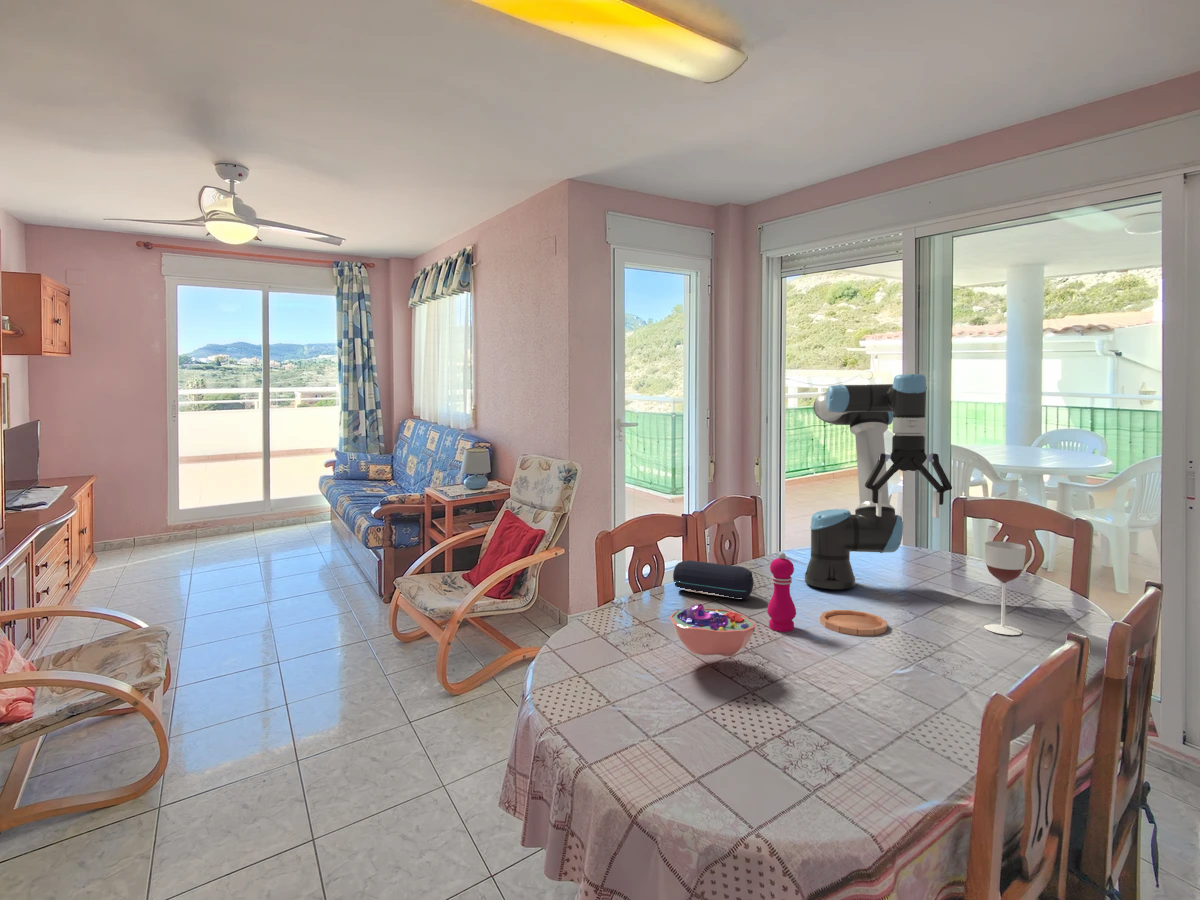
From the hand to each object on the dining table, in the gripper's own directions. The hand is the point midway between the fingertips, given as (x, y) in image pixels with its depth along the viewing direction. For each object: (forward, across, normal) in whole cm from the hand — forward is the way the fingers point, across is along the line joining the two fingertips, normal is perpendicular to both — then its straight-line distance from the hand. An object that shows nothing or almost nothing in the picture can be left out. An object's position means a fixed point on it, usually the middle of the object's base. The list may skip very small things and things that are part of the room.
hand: (906, 516), depth 160 cm
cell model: (+29, -48, -29) cm, 64 cm away
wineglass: (+29, +24, +3) cm, 38 cm away
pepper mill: (+29, -31, -7) cm, 44 cm away
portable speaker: (+30, -50, +20) cm, 62 cm away
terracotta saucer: (+29, -13, -1) cm, 32 cm away
